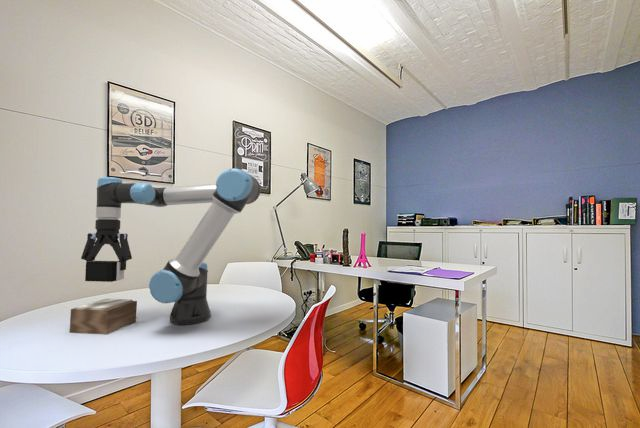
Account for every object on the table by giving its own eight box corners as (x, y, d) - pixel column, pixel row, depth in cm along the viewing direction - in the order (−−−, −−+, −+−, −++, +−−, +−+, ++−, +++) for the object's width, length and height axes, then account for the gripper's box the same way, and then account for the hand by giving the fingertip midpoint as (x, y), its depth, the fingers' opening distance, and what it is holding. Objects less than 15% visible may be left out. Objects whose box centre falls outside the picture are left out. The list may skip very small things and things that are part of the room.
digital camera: (123, 279, 110) (124, 260, 110) (111, 281, 104) (112, 262, 105) (97, 278, 111) (98, 260, 111) (85, 281, 105) (86, 261, 106)
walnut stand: (136, 321, 115) (137, 299, 115) (106, 334, 101) (108, 308, 101) (102, 320, 116) (104, 298, 117) (69, 332, 102) (71, 307, 103)
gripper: (144, 219, 112) (142, 278, 111) (87, 219, 114) (85, 277, 112) (130, 218, 105) (128, 281, 104) (70, 218, 106) (66, 280, 105)
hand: (105, 279), depth 108 cm, fingers closed on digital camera, 10 cm apart
